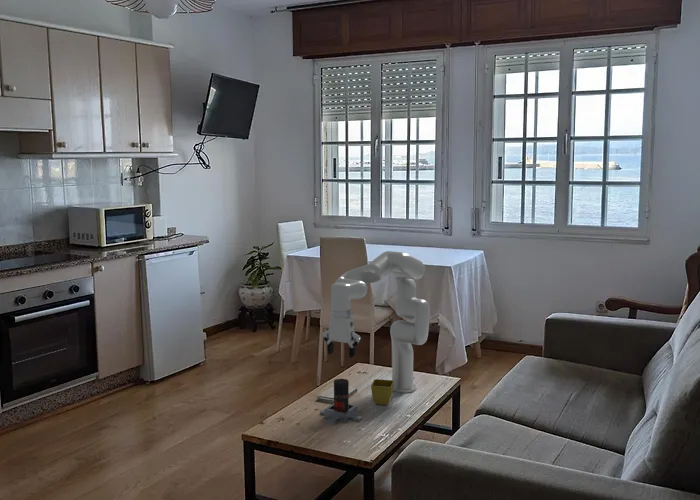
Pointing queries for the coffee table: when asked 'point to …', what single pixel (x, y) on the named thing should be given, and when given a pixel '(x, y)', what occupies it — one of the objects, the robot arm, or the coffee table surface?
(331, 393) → the washcloth
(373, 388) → the flower pot
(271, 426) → the coffee table surface
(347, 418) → the tabbed square frame
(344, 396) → the deodorant
